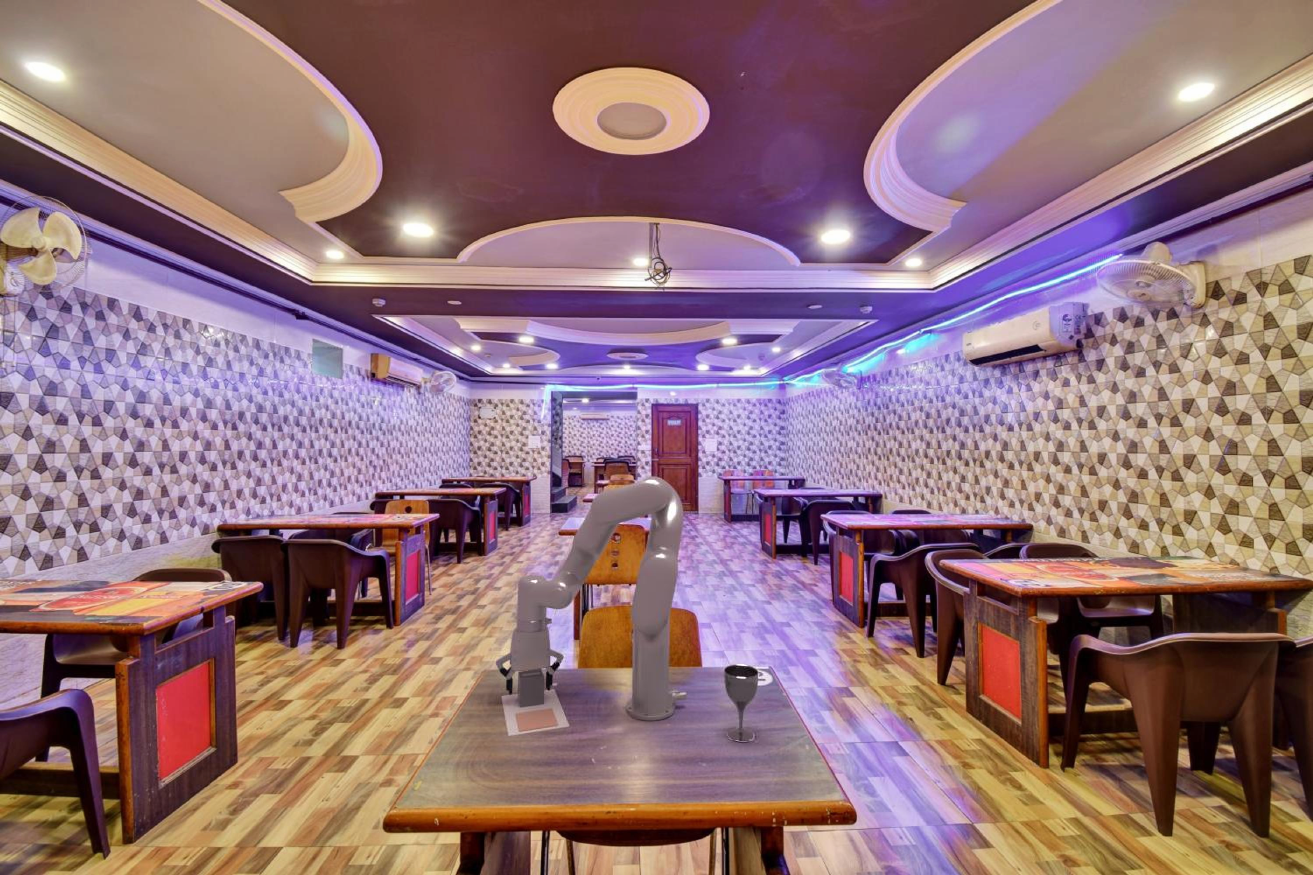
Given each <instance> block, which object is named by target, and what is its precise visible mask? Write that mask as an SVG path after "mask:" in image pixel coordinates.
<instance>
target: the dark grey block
mask: <svg viewBox="0 0 1313 875" xmlns="http://www.w3.org/2000/svg"><path fill="white" fill-rule="evenodd" d="M517 677H518V678H517V694H518V701H519V705H520V708H521V707H528V706H535V705H542V704H544V690H545V676H544V672H543V669H536V670H526V671H517Z"/></svg>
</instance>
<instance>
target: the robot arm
mask: <svg viewBox="0 0 1313 875" xmlns="http://www.w3.org/2000/svg"><path fill="white" fill-rule="evenodd" d="M677 492H678V491H676V490H675V488H674V487H673V486H672V485H671V484H669V483H668V482H667V481H666V480H665V479H663V478H661V477H658V476H647V477H645V478H643V479H642V480H640V481H637V482H633V483H630V484H628V485H624V486H621V487H618V488H614V489H607V490H606V489H605V490H603V491H602V492H599V493H598V494H597V495H595V497H594V498H593V500H592V502H591V505H590V509H589V511H588V513H587V514H586V517H585V518H584V520H583V521H582V523H581V525H580V527H579V528H578V530H577V532H576V533H575V535H574V536H573V540H572V545H571V549H570V551H569V553H568V555H567V557H566V559H565V560H564V563H562V565H561V568H560V569H559V571H558V572H557V573H556V576H554V578H552V579H550V580H547V578H546V577H544V576H542V575H536V574H534V575H533V574H531V575H526V576H522V577H520V578H519V580H518V583H517V602H516V603H517V604H516V606H517V607H516V608H517V609H516V627H515V628H514V629H513V631H512V635H511V641H510V648H509V649H510V651H509V653H507V654H505V655H504V656H502V657H500V658H498V659H497V660H496V661H495V664H496V665H495V666H496V667H497V669H498V670H499V672H500V674H501V675H503V677H504V678H505V679H506V681H505V684H506V685H505V690H506V691H508V695H512V694H513V684H514V681H513V680H514V678H513V677H514V674H515V673H516V672H520V671H528V670H536V669H541V670H543V669H545V671H546V672H545V687H546V690H548V691H549V690H550V689H551V686H553V683H554V682H553V678H554V674H555V672H556V671H558V669H559V668H560V666H561V664H562V662H563V660H564V658H565V657H564V654H562V653H561V652H558V651H556V650H554V649H551V640H550V632H549V631H550V630H549V627H548V625H551V624H553V621H552V618H550V617H549V618H548V617H547V611H548V610H547V609H553V610H563V609H565V608H567V607H569V606H570V605H571V603H572V602H573V600H575V597H577V595H578V593H579V592H580V590H581V589H582V587H583V585H584V583H585V581H586V580H587V578H588V576H589V574H590V573H591V571H592V569H593V568H594V566H595V564H596V563H597V561H598V560H599V559H600V558H601V556H602V554H603V553H604V551H605V549H606V548H607V545H609V542H610V540H611V538H612V537H613V536H614V533H615V532H616V530H617V529H618V527H619V525H620V524H621V523H625V522H629V521H632V520H636V519H638V518H641V517H645V516H649V515H651V520H650V525H649V532H648V535H647V536H648V537H647V542H646V546H645V550H644V554H643V556H642V558H641V560H640V564H639V568H638V573H637V577H636V578H637V579H636V583H635V589H634V593H633V599H632V604H631V608H630V619H631V623H632V625H633V626H632V671H631V672H632V681H631V682H632V684H631V686H632V687H631V690H632V691H631V698H630V699H629V700H628V701H627V702H626V705H625V710H626V711H625V712H626V713H627V714H628V715H629V716H630V717H633V718H634V719H638V720H640V721H641V720H643V721H661V720H664V719H666V718H668V717H671V716H672V715H673V714H674V713H675V712H676V711H675V710H676V706H675V703H676V701H684V700H687V697H688V695H687V692H686V691H679V689H672V690H670V630H671V629H670V624H671V612H672V606H673V601H674V597H675V596H674V595H675V591H676V585H677V582H678V580H677V579H678V574H679V563H678V562H679V561H678V558H679V552H680V546H681V541H682V534H683V528H684V520H685V519H684V517H685V516H684V506H683V503H682V500H681V498H680V496H679V494H678V493H677ZM551 657H553V658H555V661H554V662H553V664H552V665H551V660H552V658H551ZM507 662H509V665H510V666H509V667H508V668H506V667H505V666H504V664H505V663H507Z"/></svg>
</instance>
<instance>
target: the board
mask: <svg viewBox="0 0 1313 875" xmlns="http://www.w3.org/2000/svg"><path fill="white" fill-rule="evenodd" d="M501 701H502V707H503V712H504V714H503V715H504V719H505V724H506V730H507V736H508V737H511V736H517V735H518V736H519V735H523V734H525V735H526V734H530V733H537V732H543V731H548V730H549V731H550V730H556V729H562V728H563V729H564V728H568V727H570V724H569V721H568V719H567V717H566V715H565V712H564V710H563V707H562V705H561V702H560V699H559V697H558V695H557V692H556V690H555V688H550V690H549V691H548V690H547V689H544V704H542V705H535V706H528V707H521V708H520V705H519V701H518V693H512V695H509V694H506V695H505V694H504V695H501Z"/></svg>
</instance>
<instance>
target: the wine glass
mask: <svg viewBox="0 0 1313 875" xmlns="http://www.w3.org/2000/svg"><path fill="white" fill-rule="evenodd" d="M723 670H724V674H723V677H724V688H725V692H726V695H727V697H728V698H729V699H730V701H731V702H732V703H733V704H734V705H735V707H736V710H737V712H738V721H739V723H738V727H739V728H736V727H731V728H732V729H731V728H728V729H727V730H726V732H727V731H728V732H727V734H728V736H729V737H730V738H731V739H733V741H732V742H734V741H749V739H752V738H753V733H752V732H751V731H752V730H751V729H749V728H746V727H743V720H744V712H745V710H746V707H747V706H748V705H749V704H751V702H752V701H753V700H754V699H755V698H756V694H757V691H758V684H759V671H758V669H757V668H756V667H754V666H752V665H747V664H740V663H738V664H730V665H727V666H725V668H724V669H723ZM745 728H746V729H745ZM748 729H749V730H748ZM750 730H751V731H750Z"/></svg>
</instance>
